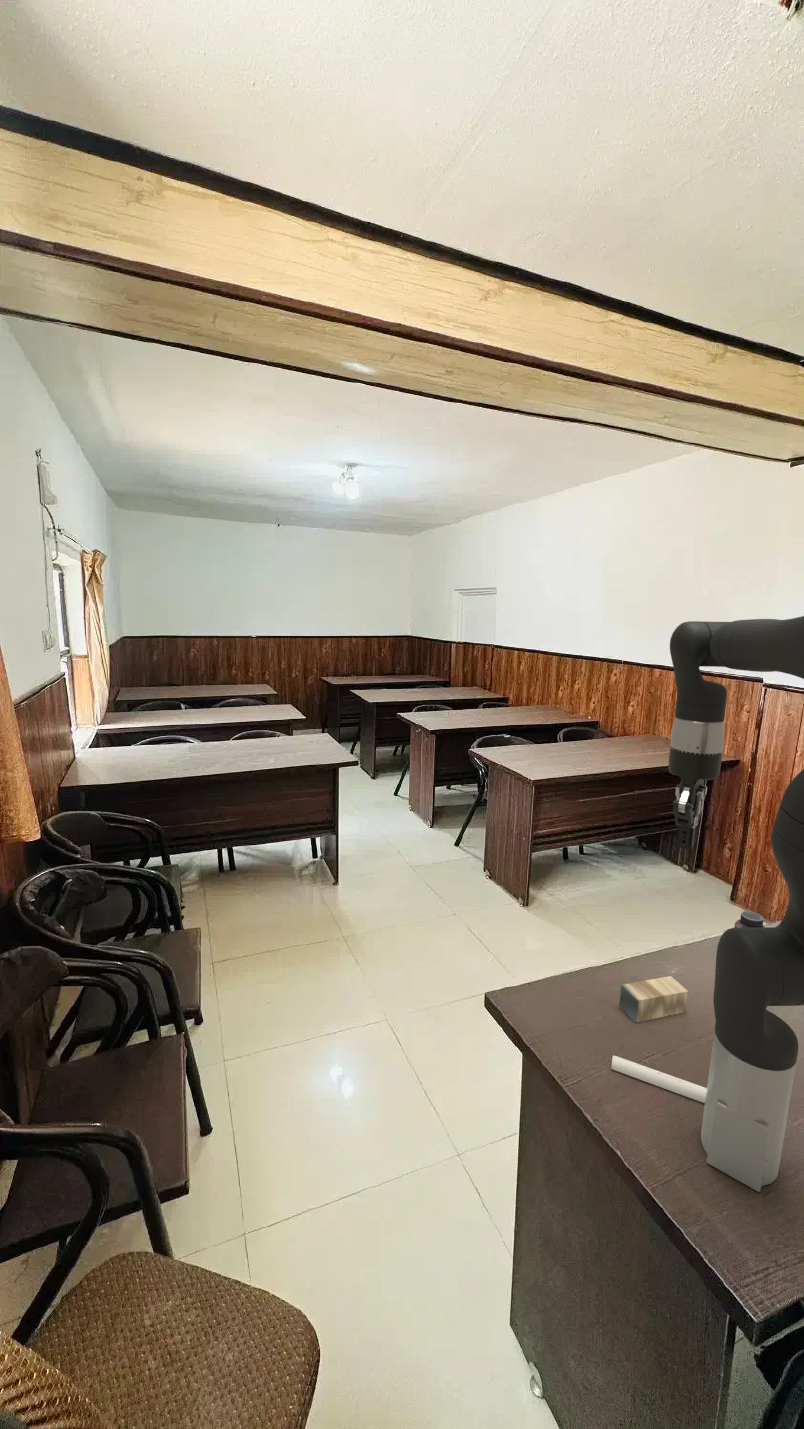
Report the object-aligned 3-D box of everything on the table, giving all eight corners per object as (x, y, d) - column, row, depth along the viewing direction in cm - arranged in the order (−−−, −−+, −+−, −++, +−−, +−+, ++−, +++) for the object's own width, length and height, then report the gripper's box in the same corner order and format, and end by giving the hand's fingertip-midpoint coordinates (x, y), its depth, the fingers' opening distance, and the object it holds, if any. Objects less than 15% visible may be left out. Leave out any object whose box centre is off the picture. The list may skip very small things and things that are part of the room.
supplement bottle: (753, 956, 121) (760, 909, 119) (768, 974, 115) (775, 924, 113) (724, 954, 121) (731, 907, 119) (738, 972, 116) (745, 922, 114)
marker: (738, 1108, 84) (740, 1095, 83) (739, 1119, 82) (741, 1106, 81) (612, 1063, 92) (613, 1050, 91) (610, 1072, 90) (612, 1059, 90)
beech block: (637, 1000, 100) (687, 991, 103) (621, 984, 104) (670, 976, 107) (634, 1022, 101) (685, 1012, 103) (619, 1006, 105) (668, 996, 108)
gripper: (714, 757, 82) (701, 867, 85) (729, 743, 92) (717, 841, 95) (660, 749, 87) (650, 853, 90) (680, 736, 97) (671, 830, 100)
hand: (685, 847), depth 93 cm, fingers closed
